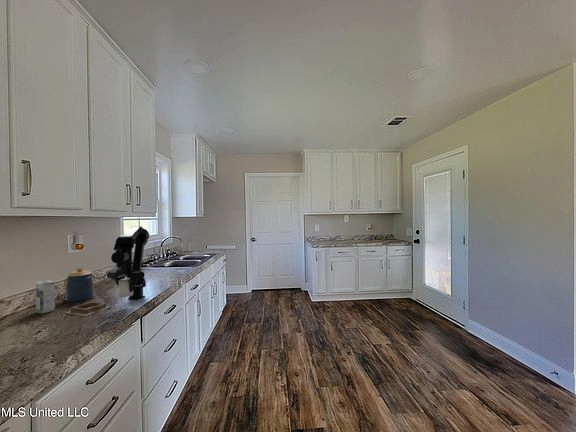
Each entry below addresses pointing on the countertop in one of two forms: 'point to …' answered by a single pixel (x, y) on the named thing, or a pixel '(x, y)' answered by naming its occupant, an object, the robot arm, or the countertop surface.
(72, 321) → the countertop surface
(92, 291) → the canister
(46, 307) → the syrup box
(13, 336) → the countertop surface
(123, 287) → the towel roll
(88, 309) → the holder
